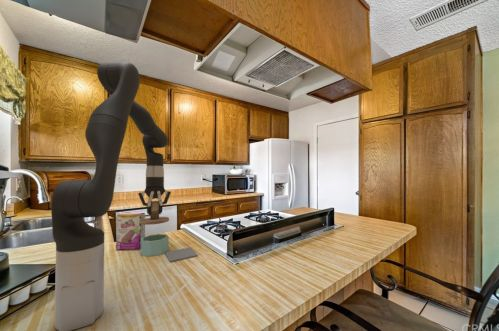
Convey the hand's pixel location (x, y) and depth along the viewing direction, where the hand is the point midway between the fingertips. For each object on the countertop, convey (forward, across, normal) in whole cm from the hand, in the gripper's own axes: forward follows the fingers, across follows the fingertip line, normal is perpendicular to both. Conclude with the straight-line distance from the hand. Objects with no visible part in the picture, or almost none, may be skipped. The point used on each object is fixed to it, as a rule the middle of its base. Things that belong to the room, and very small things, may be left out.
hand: (154, 214), depth 95 cm
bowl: (+16, 0, 0) cm, 16 cm away
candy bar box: (+17, -9, +10) cm, 22 cm away
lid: (+3, 0, 0) cm, 3 cm away
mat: (+16, +9, -11) cm, 22 cm away
